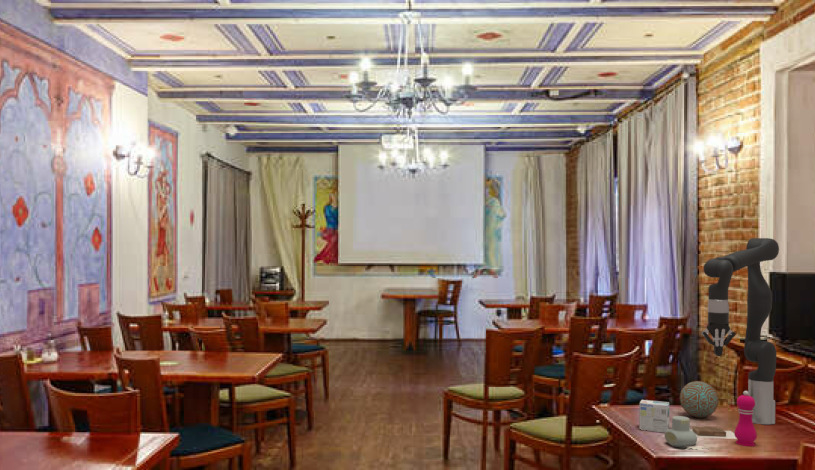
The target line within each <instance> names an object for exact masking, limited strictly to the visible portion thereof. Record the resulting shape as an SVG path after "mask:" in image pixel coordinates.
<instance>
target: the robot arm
mask: <svg viewBox="0 0 815 470" xmlns="http://www.w3.org/2000/svg"><path fill="white" fill-rule="evenodd" d="M779 251H780V247H779V243H778V241H776V239H773V238H770V237H769V238H767V237H762V238H761V237H760V238H759V237H758V238H757V237H756V238H755V237H753V238H750V239H748V241H747V243H746V249H743V250H737V251H734V252H732V253H729V254H726V255H724V256H719V257H714V258H710V259H708V260H707V261H706V262H705V263H704V265H703V272H704V274H705V275H706V276H707V277H708V278H713V279H715V278H718V280H717V282H716V283H711V284H710V285H708V301H707V325H706V329H705V330H702V331H701V332H700V334H701V335H702V337H704V339H705V341H707V343H708V344H709V345H712V346H713V353H714V356H716V357H721V356H723V348H724V346H727V345H729V343H730V342H731V341H732V340H733V339H734V337H735V336H736V334H737V333H736V332H735V331H733V330H732V329H731V327H730V325H729V324H730V319H729V318H730V303H729V287H730V284H731V280H732V277H733V273H735V272H737V271H739V270H742V269H743V268H746V267H747V298H746V299H747V300H746V302H747V303H746V306H747V309H746V310H747V312H746V329H745V330H746V331H745V338H744V345H743V351H744V353H743V354H744V357H745V359H746V360H747V361H749V362H752V363H757V364H758V365H757V368H756V369H755V370H751V371H748V377H747V378H748V381H747V383H748V385H747V387H748V390H747V391H748V393H749V395H748V396H751V397H752V398H753V399H754V400H755V406H754V408H753V410H754V411H753V414H752V422H753V424H756V425H757V424H759V425H775V424H776V400H775V399H774V380H775V378H774V377H775V375H776V369H777V348H776V346H775V344H774V343H772V342H771V341H767V340H761V336H762V329H763V325H764V323H765V322H767V321H766V320H768V318H769V315H770V314H771V312H772V308H773V292H772V289H771V287H770V286H769V284H768V282H767V281H766V279H765V277H764V275H763V272H762V269H761V263H762V262H767V261H773V260H775V259H776V258H777V257H778V255H779ZM709 334H710V335H711V337H712V338H711V337H710V336H709Z"/></svg>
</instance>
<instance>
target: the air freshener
mask: <svg viewBox="0 0 815 470" xmlns="http://www.w3.org/2000/svg"><path fill="white" fill-rule="evenodd" d="M690 421H691V420H690V418H689V417H687V416H683V415H675V416H673V417H672V418H671V428H669V429H668V430H667V431H666V432H665V433H664V439H665V441H666V442H667V443H668V444H669V445H671V446H672V447H674V448H680V449H681V448H683V449H684V448H688V447H690V446H694V445H695V444H696V443H697V442H698V438H697V436H696V435H695V433H694V432H692V431H691V430H690V429H691V428H690Z"/></svg>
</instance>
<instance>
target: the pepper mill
mask: <svg viewBox="0 0 815 470" xmlns="http://www.w3.org/2000/svg"><path fill="white" fill-rule="evenodd" d="M748 395H749V393H748V390H744V391H743V392H742V394H741V395H739V396H738V397H737V399H736V405H737V407H738V408H737V410H738V412H737V413H739V416H738V417H739V418H738V419H739V420H738V422H737V424H736V427H735V429H734V433H735V437H736V438H737V439H736V441H735V443H736V444H737V445H739V446H743V447H755V446H756V442H755V441H756V440H757V438H758V434H757V431H756V428H755V426H754V423H753V422H752V414H753V411H754V410H753V408H754V406H755V400H754V399H753V398H752V397H751V396H748Z"/></svg>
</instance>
